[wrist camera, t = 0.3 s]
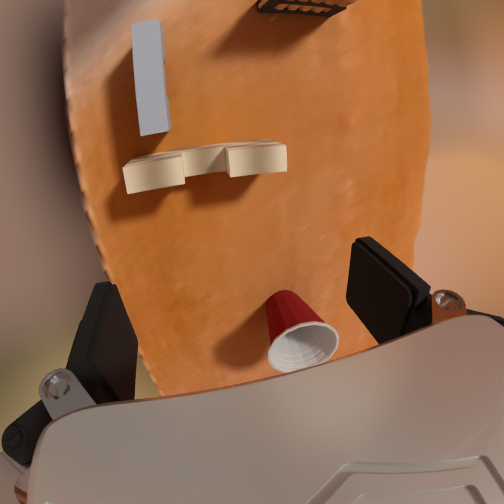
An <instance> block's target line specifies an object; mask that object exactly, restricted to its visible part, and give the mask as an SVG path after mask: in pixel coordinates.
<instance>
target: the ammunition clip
mask: <svg viewBox="0 0 504 504" xmlns="http://www.w3.org/2000/svg"><path fill="white" fill-rule="evenodd" d="M356 1H357V0H258V1H257V9H258V12H259V13H293V14H306V15H317V16H326V17H331V16H333V15H335V14H337V13H339V12H341V11H343V10H345V9H346V8H347V7H346V6H348V5H350V4H352V3H354V2H356Z"/></svg>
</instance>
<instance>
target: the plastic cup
mask: <svg viewBox="0 0 504 504" xmlns="http://www.w3.org/2000/svg"><path fill="white" fill-rule="evenodd" d="M267 317H268V327H269V334H270V341H271V344H270V347H269V349H268V361H269V363H270V364H271V366H272V367H273V368H274V369H276V370H278V371H281V372H283V373H288V372H292V371H295V370H299V369H303V368H306V367H310V366H314V365H317V364H321V363H324V362H326V361H327V360H328V359H329V358H330V357H331V356H332V355H333V353H334V352H335V351H336V349H337V347H338V342H339V337H338V334H337V331H336V330H335V329H334V328H332V327H331V326H330V325H328V324H327V323H325V322H324V321H323V320H322V319H321V318H320V317H319V316H318V315H317V314H316V313H315V312H314V311H313V310H312V309H311V308H310V307H309V306H308V305H307V304H306V303H305V302H304V301H303V300H302V299H301V298H300V297H299V296H298V295H296V294H295V293H294V292H292V291H288V290H283V291H279V292H277V293H275V294H273V295H272V296H271V297H270V298H269V300H268V302H267Z"/></svg>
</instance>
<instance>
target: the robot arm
mask: <svg viewBox="0 0 504 504" xmlns="http://www.w3.org/2000/svg"><path fill="white" fill-rule="evenodd" d="M430 288H431V287H430V286H429V285H428V284H427V283H426V282H425V281H424V280H423V279H421V278H420V277H419V276H418V275H417V274H416V273H414V272H413V271H412V270H411V269H410V268H408V267H407V266H406V265H405V264H404V263H402V262H401V261H400V260H399V259H398V258H396V257H395V256H394V255H393V254H392V253H390V252H389V251H388V250H387V249H385V248H384V247H383V246H382V245H380V244H379V243H378V242H377V241H375V240H374V239H373V238H371V237H370V236H368V237H362V238H357V239H356V240H355V242H354V243H353V244H352V248H351V258H350V267H349V276H348V284H347V292H346V300H347V303H348V305H349V306H350V307H351V308H352V310H353V311H354V312H355V314H356V315H357V316H358V317H359V319H360V320H361V321H362V323H363V324H364V325H365V326H366V328H367V329H368V330H369V332H370V333H371V334H372V336H373V337H374V338H375V340H376V341H377V342H378V344H379V345H376V346H373V347H371V348H368V349H365V350H362V351H359V352H356V353H353V354H350V355H347V356H344V357H340V358H337V359H334V360H331V361H327V362H324V363H321V364H317V365H314V366H310V367H306V368H303V369H299V370H295V371H292V372H288V373H284V374H280V375H276V376H272V377H267V378H263V379H259V380H254V381H249V382H245V383H240V384H235V385H230V386H225V387H219V388H214V389H208V390H202V391H196V392H190V393H183V394H176V395H168V396H161V397H154V398H145V399H136V400H134V396H135V378H136V364H137V352H138V340H137V337H136V334H135V332H134V329H133V327H132V325H131V322H130V320H129V317H128V315H127V312H126V309H125V307H124V304H123V302H122V299H121V296H120V294H119V291H118V288H117V286H116V285H115V284H113V285H112V283H111V282H110V281H107V282H101V283H96V284H95V286H94V289H93V291H92V294H91V297H90V299H89V302H88V305H87V308H86V310H85V313H84V316H83V319H82V320H81V322H80V324H79V327H78V330H77V333H76V336H75V340H74V342H73V346H72V349H71V352H70V355H69V359H68V362H67V366H66V369H61V368H60V369H56V370H53V371H52V372H50V373H48V374H47V375H46V376H45V377H44V378H43V380H42V381H41V384H40V386H39V394H40V397H41V400H40V401H39V402H37V403H36V404H35V405H34V406H32V407H31V408H30V409H29V410H28V411H26V412H25V413H24V414H23V415H21V416H20V417H19V418H17V419H16V420H15V421H14V422H13V423H11V424H10V425H9V426H8V427H7V428H6V429H5V431H4V433H3V436H2V447H3V451H2V452H0V504H504V319H503V318H502V317H499V316H494V315H490V314H486V313H481V312H477V311H473V310H469V309H466V305H465V302H464V300H463V298H462V297H461V296H460V295H458V294H457V293H455V292H453V291H449V290H444V289H442V290H437V291H435V292H434V293H433V295H431V294H430V293H429V291H430Z"/></svg>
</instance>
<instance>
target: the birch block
mask: <svg viewBox="0 0 504 504" xmlns="http://www.w3.org/2000/svg"><path fill="white" fill-rule="evenodd" d="M222 171H226V172H227V173H228V174H229V176H230V177H237V176H245V175H254V174H263V173H273V172H283V171H287V153H286V145H284V144H281V143H278V142H275V141H273V140H270V139H264V140H252V141H241V142H231V143H223V144H214V145H206V146H199V147H192V148H185V149H179V150H173V151H167V152H161V153H155V154H150V155H145V156H139V157H134V158H132V159H131V160H130V161H129V162H128V163H127V164H126V165H125V166H124V167H123V173H124V179H125V184H126V189H127V194H131V193H136V192H142V191H147V190H152V189H158V188H164V187H169V186H175V185H181V184H185V177H188V176H194V175H201V174H208V173H215V172H222Z"/></svg>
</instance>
